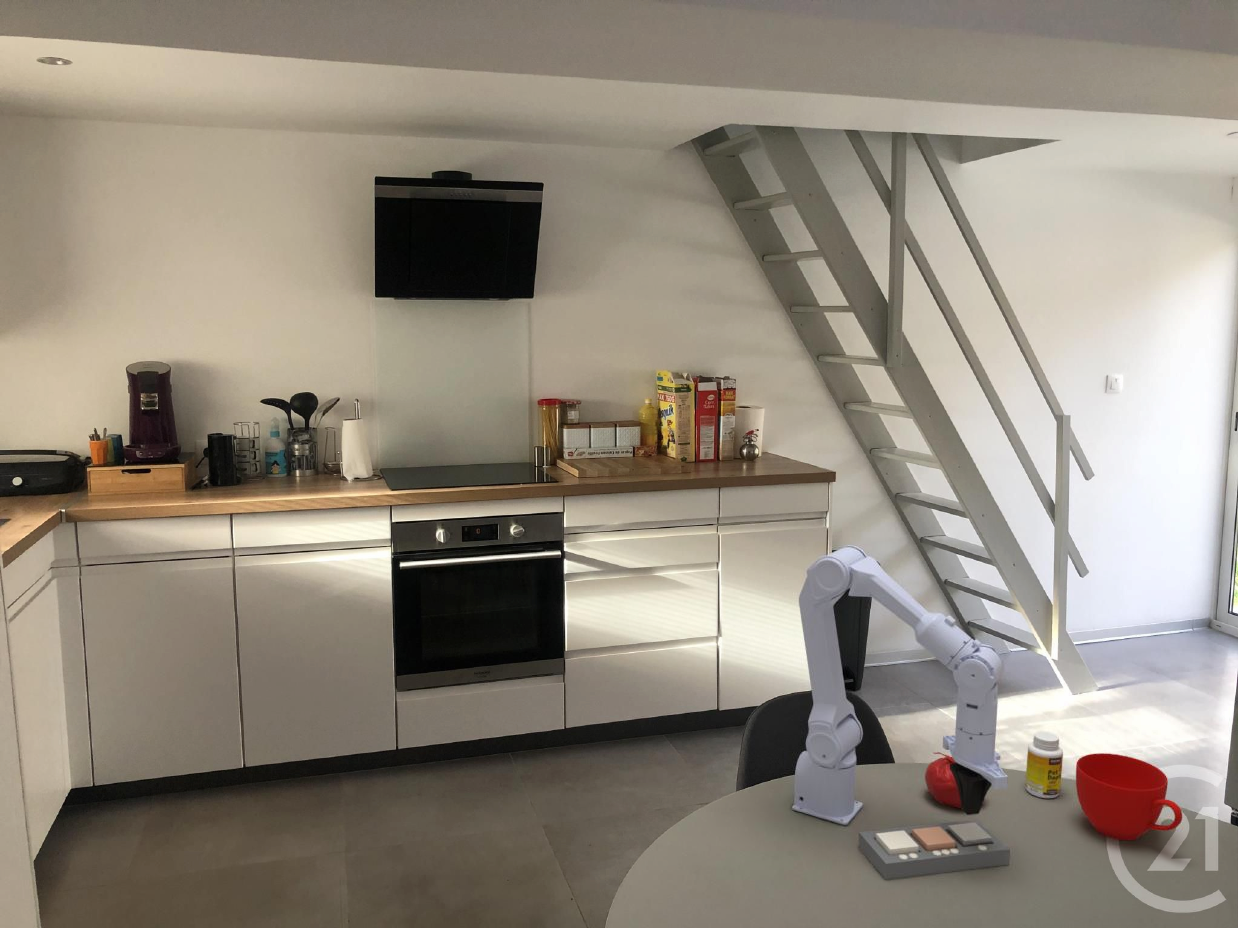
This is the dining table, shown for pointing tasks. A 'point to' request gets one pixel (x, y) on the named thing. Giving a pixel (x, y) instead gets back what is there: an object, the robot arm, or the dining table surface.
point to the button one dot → (969, 834)
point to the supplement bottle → (1044, 765)
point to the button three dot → (933, 838)
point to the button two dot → (896, 843)
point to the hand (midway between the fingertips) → (970, 811)
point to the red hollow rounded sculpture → (942, 781)
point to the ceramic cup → (1122, 795)
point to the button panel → (933, 854)
